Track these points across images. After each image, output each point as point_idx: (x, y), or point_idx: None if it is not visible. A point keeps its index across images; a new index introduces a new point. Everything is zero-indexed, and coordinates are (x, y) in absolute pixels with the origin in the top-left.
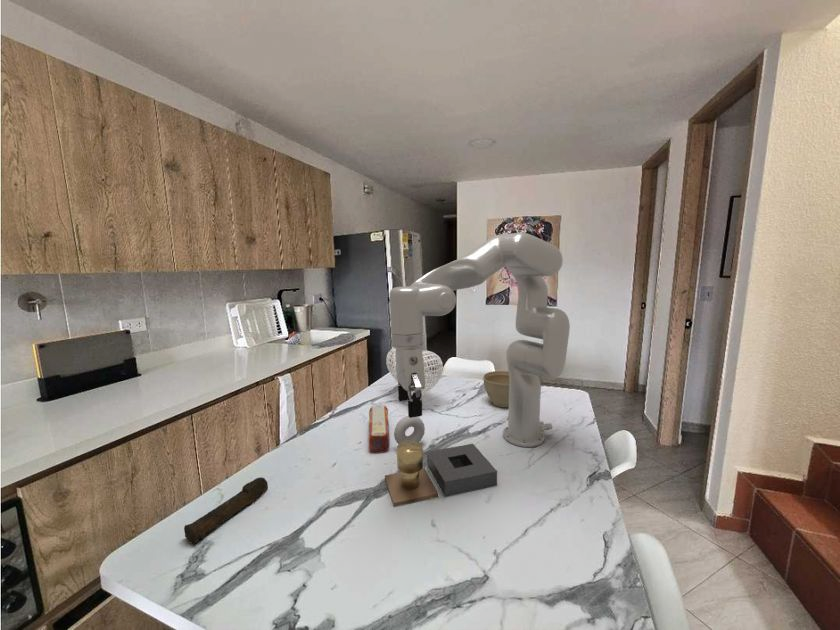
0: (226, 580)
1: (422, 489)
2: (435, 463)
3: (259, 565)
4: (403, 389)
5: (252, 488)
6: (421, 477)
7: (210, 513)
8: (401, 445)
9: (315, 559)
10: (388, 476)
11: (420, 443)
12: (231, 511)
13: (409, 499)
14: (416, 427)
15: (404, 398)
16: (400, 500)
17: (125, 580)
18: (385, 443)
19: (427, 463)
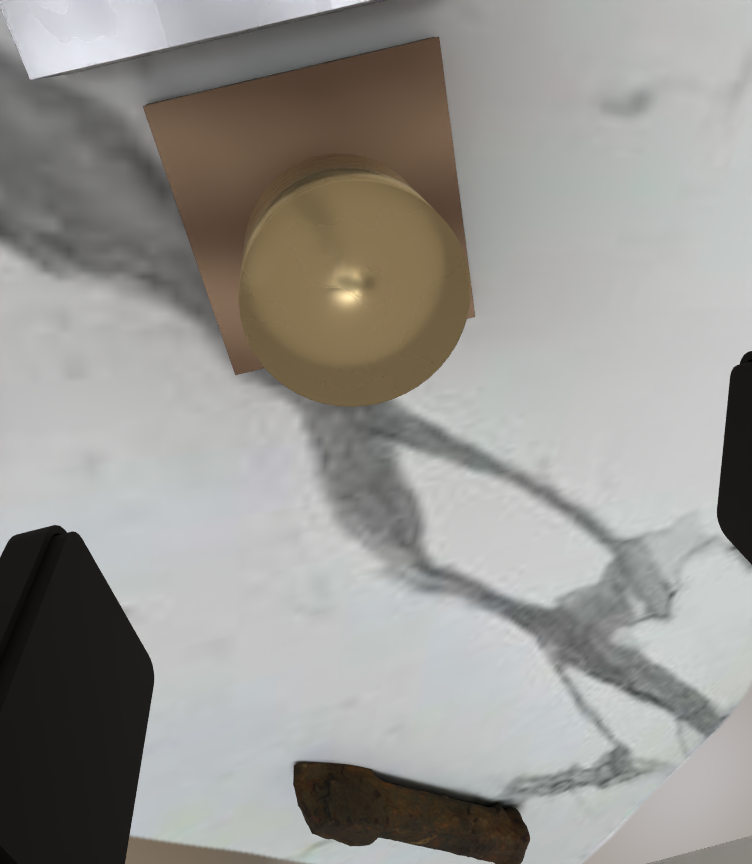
0: (651, 705)
1: (386, 146)
2: (216, 20)
3: (629, 662)
4: (84, 834)
5: (370, 820)
6: (261, 142)
7: (472, 851)
8: (321, 371)
9: (658, 543)
10: (246, 353)
11: (299, 198)
12: (434, 807)
13: (462, 232)
14: None
15: (115, 643)
16: None
17: (584, 851)
18: None
19: (68, 73)
